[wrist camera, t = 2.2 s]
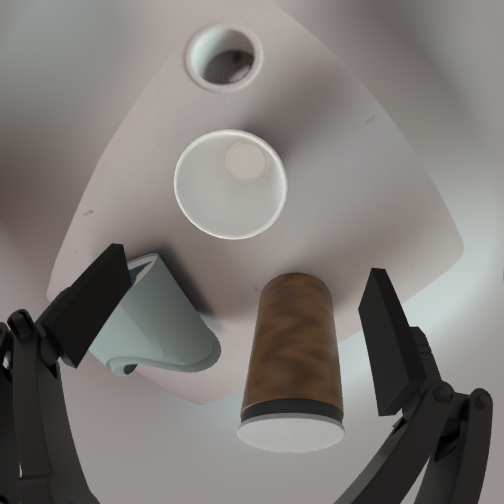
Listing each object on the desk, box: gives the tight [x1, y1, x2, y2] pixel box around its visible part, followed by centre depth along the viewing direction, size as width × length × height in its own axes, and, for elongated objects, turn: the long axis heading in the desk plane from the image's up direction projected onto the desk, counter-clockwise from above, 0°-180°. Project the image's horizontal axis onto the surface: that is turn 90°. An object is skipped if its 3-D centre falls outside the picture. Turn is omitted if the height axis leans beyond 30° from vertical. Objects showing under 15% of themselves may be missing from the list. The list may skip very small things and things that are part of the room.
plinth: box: [240, 273, 344, 420], centre depth 33 cm, size 11×11×20 cm
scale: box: [237, 399, 345, 453], centre depth 24 cm, size 11×11×2 cm
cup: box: [174, 129, 288, 239], centre depth 27 cm, size 10×10×11 cm
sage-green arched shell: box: [88, 253, 221, 376], centre depth 41 cm, size 22×19×13 cm
